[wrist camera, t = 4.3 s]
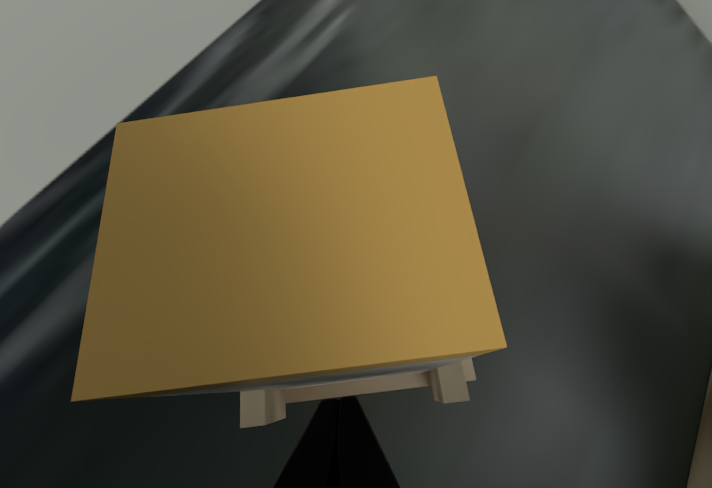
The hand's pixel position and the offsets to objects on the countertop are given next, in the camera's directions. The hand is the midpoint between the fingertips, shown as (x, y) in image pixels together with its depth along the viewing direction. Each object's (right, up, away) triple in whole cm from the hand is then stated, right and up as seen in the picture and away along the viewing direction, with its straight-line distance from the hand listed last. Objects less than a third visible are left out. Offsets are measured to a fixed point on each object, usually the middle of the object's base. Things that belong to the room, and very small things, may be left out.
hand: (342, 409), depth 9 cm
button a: (0, +1, +6) cm, 6 cm away
